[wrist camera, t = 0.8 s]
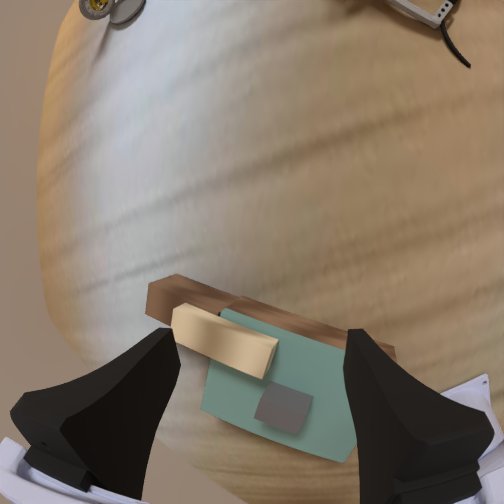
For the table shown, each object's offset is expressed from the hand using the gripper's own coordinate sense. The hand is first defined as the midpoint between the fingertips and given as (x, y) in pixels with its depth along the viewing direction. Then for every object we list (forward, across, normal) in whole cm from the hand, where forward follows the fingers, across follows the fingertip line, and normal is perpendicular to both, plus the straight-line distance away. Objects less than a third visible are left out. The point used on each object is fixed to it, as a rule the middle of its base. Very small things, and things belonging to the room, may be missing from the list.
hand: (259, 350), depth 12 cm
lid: (+10, -2, +14) cm, 17 cm away
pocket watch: (+31, +21, -33) cm, 50 cm away
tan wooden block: (+12, +4, +8) cm, 15 cm away
